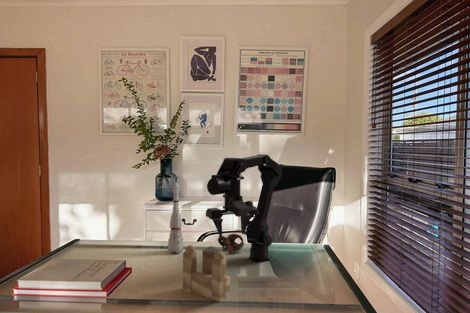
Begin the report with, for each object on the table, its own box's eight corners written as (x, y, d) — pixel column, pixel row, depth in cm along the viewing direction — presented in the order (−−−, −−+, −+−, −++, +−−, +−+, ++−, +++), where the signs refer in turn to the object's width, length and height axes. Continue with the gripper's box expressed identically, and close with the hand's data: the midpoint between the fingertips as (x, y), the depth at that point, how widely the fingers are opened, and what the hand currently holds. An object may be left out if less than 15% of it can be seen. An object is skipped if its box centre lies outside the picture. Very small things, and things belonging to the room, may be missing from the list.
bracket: (210, 284, 106) (210, 246, 106) (222, 287, 103) (222, 248, 103) (202, 289, 102) (202, 249, 102) (214, 293, 99) (214, 252, 99)
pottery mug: (243, 248, 147) (247, 235, 143) (238, 263, 139) (242, 250, 135) (218, 240, 149) (221, 226, 145) (212, 254, 141) (215, 241, 137)
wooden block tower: (199, 281, 108) (199, 239, 108) (235, 290, 101) (235, 246, 101) (182, 290, 101) (183, 245, 101) (220, 301, 94) (220, 253, 94)
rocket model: (164, 251, 140) (164, 181, 139) (179, 248, 144) (180, 181, 143) (171, 256, 134) (172, 183, 133) (187, 252, 138) (188, 182, 137)
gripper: (219, 196, 106) (218, 244, 106) (266, 193, 115) (265, 237, 115) (205, 192, 116) (204, 236, 116) (250, 190, 125) (249, 230, 125)
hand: (232, 235), depth 118 cm, fingers open, 9 cm apart
